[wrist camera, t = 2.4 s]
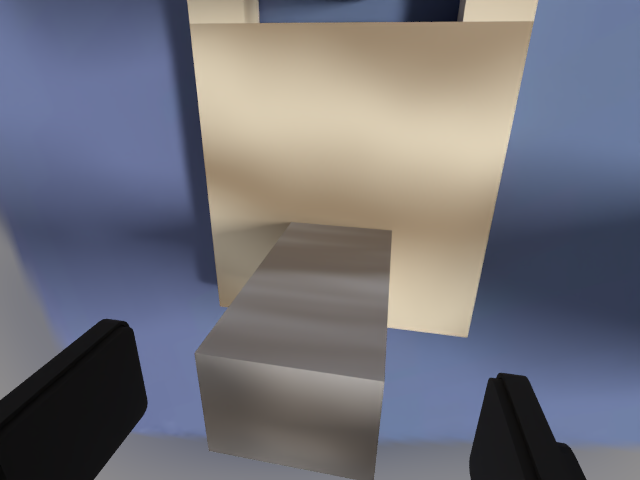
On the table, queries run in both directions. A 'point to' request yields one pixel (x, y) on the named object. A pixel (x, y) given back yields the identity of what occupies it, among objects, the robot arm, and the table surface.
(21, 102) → the table surface
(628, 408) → the table surface
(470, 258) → the tan plate with window
